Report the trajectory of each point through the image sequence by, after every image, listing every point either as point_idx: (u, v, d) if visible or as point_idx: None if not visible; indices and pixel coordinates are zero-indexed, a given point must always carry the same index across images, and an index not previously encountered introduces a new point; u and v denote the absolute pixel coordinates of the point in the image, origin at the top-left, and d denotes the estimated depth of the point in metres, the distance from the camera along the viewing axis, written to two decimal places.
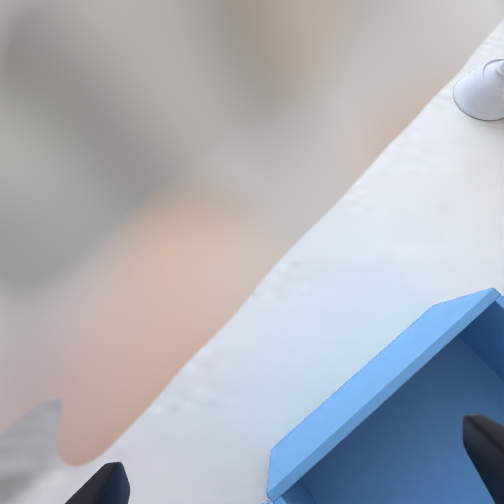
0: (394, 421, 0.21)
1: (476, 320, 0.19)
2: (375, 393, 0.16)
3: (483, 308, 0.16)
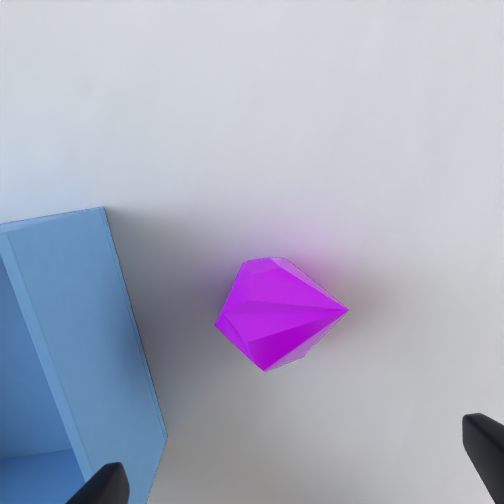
0: None
1: None
2: None
3: None
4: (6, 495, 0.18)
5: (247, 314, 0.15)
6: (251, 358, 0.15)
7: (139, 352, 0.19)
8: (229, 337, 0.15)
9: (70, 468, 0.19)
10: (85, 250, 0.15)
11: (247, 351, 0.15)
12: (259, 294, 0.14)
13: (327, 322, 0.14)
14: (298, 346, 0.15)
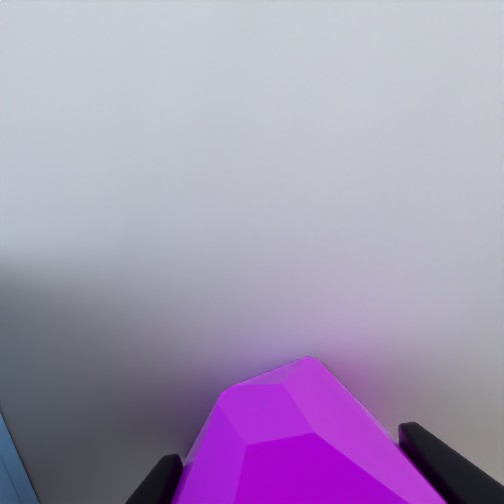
0: None
1: None
2: None
3: None
4: None
5: None
6: None
7: None
8: None
9: None
10: None
11: None
12: None
13: None
14: None
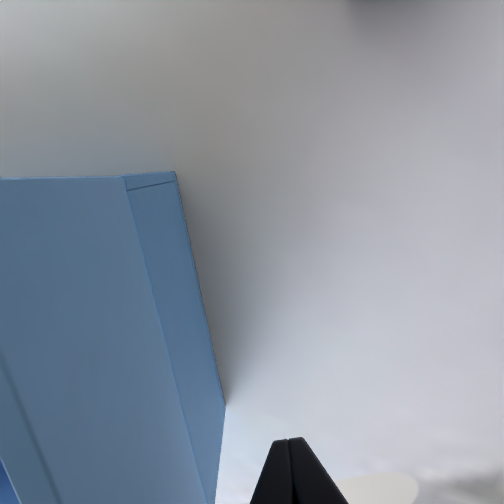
0: None
1: None
2: None
3: None
4: None
5: None
6: None
7: None
8: None
9: None
10: None
11: None
12: None
13: None
14: None
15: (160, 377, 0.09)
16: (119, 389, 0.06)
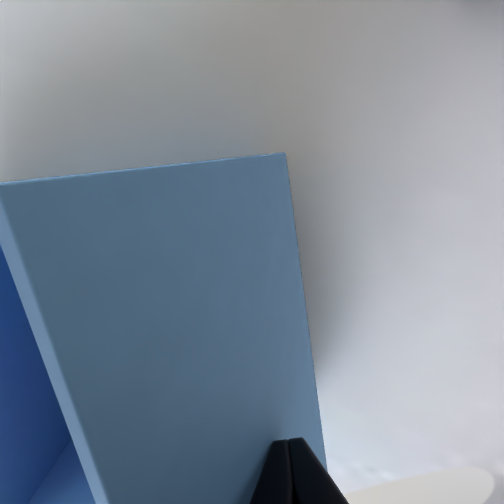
0: None
1: (35, 470, 0.17)
2: None
3: None
4: None
5: None
6: None
7: None
8: None
9: None
10: None
11: None
12: None
13: None
14: None
15: (288, 364, 0.09)
16: (212, 371, 0.06)
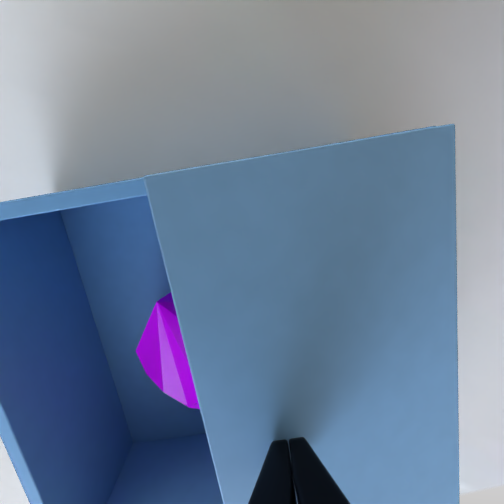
0: None
1: (102, 487, 0.15)
2: None
3: None
4: None
5: (183, 388, 0.14)
6: None
7: None
8: None
9: None
10: None
11: None
12: (158, 379, 0.13)
13: (176, 320, 0.12)
14: None
15: (402, 355, 0.09)
16: (286, 321, 0.08)
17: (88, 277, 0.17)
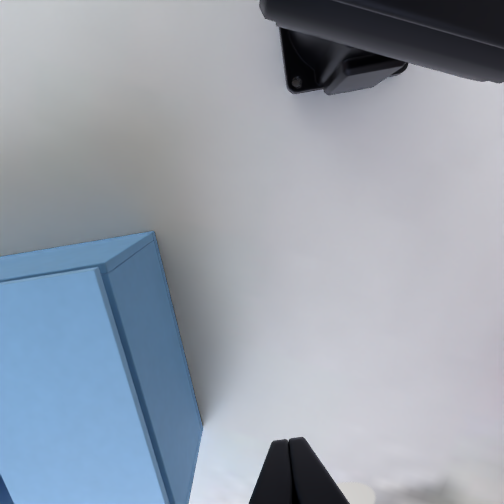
0: None
1: None
2: None
3: None
4: None
5: None
6: None
7: (49, 249, 0.20)
8: None
9: None
10: None
11: None
12: None
13: None
14: None
15: (91, 399, 0.14)
16: (10, 371, 0.14)
17: None
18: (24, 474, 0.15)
